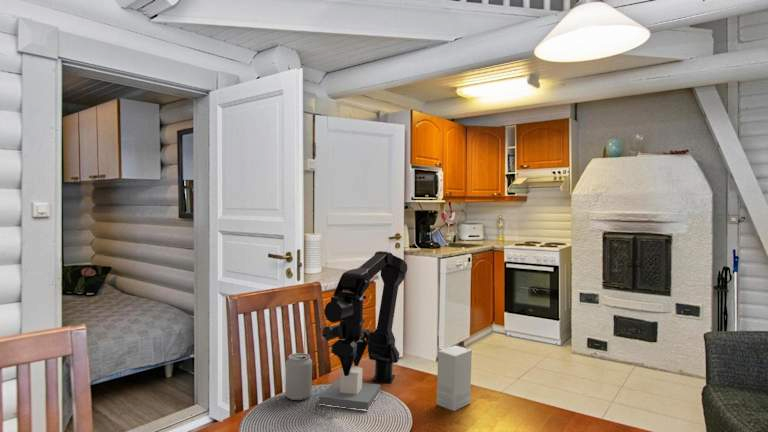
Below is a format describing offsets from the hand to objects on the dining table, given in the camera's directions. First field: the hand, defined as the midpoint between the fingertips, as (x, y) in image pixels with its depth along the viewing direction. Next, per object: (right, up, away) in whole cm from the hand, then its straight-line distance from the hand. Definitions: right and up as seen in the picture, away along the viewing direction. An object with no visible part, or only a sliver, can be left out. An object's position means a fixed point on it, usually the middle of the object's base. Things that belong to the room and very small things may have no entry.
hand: (351, 370), depth 133 cm
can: (-15, -8, +1) cm, 17 cm away
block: (0, -6, 0) cm, 6 cm away
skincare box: (+29, -9, -2) cm, 31 cm away
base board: (0, -8, 0) cm, 8 cm away
